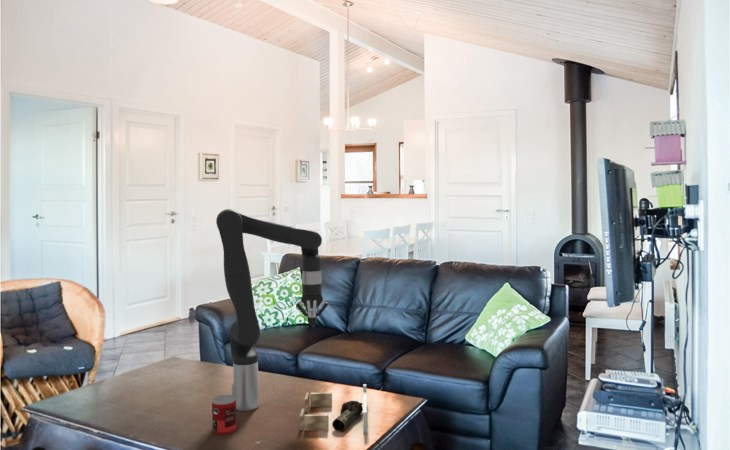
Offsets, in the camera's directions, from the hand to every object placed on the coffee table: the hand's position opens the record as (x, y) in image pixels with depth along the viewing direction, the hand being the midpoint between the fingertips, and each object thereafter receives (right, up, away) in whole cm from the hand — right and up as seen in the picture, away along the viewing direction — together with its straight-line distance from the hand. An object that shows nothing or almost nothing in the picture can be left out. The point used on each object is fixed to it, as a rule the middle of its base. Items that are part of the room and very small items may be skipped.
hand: (312, 326), depth 213 cm
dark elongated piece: (+14, -30, -19) cm, 39 cm away
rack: (+20, -30, -16) cm, 39 cm away
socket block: (+3, -30, -16) cm, 34 cm away
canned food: (-28, -31, -26) cm, 49 cm away
